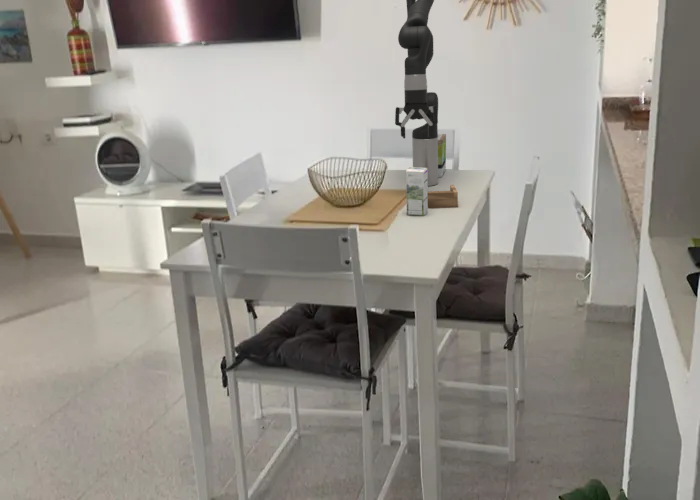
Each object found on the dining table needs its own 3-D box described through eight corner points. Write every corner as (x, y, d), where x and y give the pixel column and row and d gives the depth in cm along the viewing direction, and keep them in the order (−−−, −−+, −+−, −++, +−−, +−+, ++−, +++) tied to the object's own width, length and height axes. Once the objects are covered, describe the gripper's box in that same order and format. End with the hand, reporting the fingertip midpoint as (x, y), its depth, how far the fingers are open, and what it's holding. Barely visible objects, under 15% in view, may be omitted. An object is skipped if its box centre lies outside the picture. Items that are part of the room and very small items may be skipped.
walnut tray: (421, 200, 253) (420, 185, 251) (453, 199, 252) (453, 184, 251) (423, 208, 242) (423, 193, 241) (457, 207, 242) (457, 192, 240)
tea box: (443, 177, 286) (443, 139, 281) (417, 177, 288) (416, 139, 283) (446, 169, 300) (446, 132, 295) (421, 169, 302) (420, 133, 297)
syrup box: (428, 211, 238) (427, 167, 234) (423, 216, 233) (423, 170, 229) (410, 210, 240) (410, 166, 236) (406, 215, 235) (405, 170, 230)
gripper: (435, 87, 252) (436, 136, 256) (393, 89, 252) (395, 137, 256) (438, 87, 245) (438, 137, 248) (394, 89, 245) (396, 139, 249)
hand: (416, 137), depth 252 cm, fingers open, 8 cm apart
